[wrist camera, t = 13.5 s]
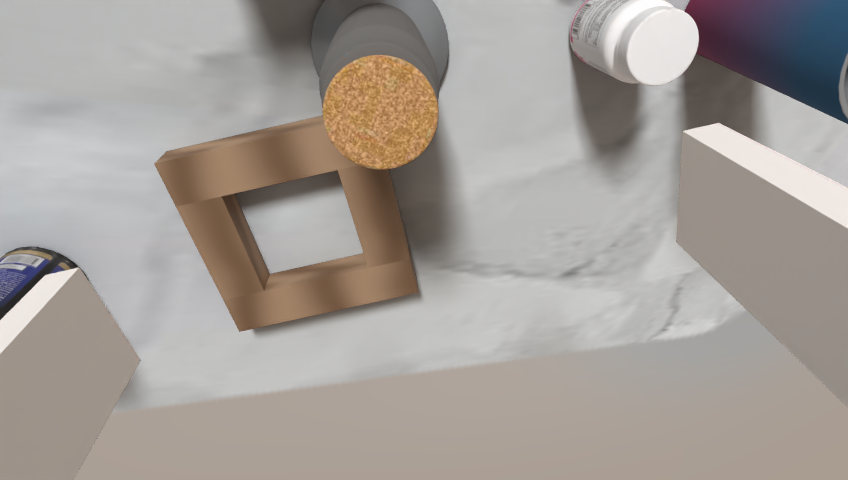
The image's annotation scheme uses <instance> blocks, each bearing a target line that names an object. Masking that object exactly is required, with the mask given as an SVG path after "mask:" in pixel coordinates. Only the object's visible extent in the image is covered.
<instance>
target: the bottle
mask: <svg viewBox="0 0 848 480" xmlns="http://www.w3.org/2000/svg"><path fill="white" fill-rule="evenodd" d="M319 84H320V96H321V99H322V108H323V121H324V126H325V129H326V132H327V134H328V136H329V138H330V140H331V142H332V143H333V145H334V146H335V147H336V149H337V150H338V151H339V152H340V153H341V154H342V155H344V156H345V157H346V158H347V159H349V160H350V161H352V162H354V163H356V164H358V165H360V166H363V167H367V168H371V169H383V170H385V169H392V168H397V167H400V166H403V165H405V164H407V163H409V162H411V161H413V160H414V159H415V158H417V157H418V156H419V155H420V154H421V153H422V152H423V151H424V150H425V149H426V148H427V146H428V145H429V144H430V142H431V140H432V138H433V136H434V134H435V131H436V128H437V124H438V97H439V76H438V72H437V68H436V65H435V62H434V59H433V57H432V55H431V53H430V51H429V49H428V47H427V45H426V43H425V41H424V39H423V37H422V35H421V33H420V31H419V30H418V28H417V26H416V25H415V23H414V22H413V21H412V19H411V18H410V17H409V16H408V15H407V14H405V13H404V12H403V11H401V10H400V9H398V8H396V7H394V6H391V5H388V4H384V3H370V4H366V5H363V6H360V7H358V8H357V9H355V10H353V11H352V12H351V13H349V14H348V15H347V16H346V17H345V18H344V20H343V21H342V22H341V24H340V26H339V27H338V29H337V31H336V33H335V35H334V37H333V40H332V42H331V44H330V46H329V49H328V51H327V53H326V56H325V58H324V61H323V64H322V68H321V71H320V80H319Z"/></svg>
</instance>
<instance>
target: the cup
mask: <svg viewBox="0 0 848 480" xmlns="http://www.w3.org/2000/svg"><path fill="white" fill-rule="evenodd" d="M685 12H686V13H687V14H689V15H690V16H691V17H692V18H693V20H694V21H695V23H696V25H697V28H698V33H699V43H698V48H697V52H696V53H697V54H699V55H701V56H703V57H705V58H708V59H710V60H712V61H714V62H716V63H718V64H720V65H723V66H725V67H727V68H729V69H731V70H733V71H735V72H738V73H740V74H742V75H744V76H746V77H748V78H750V79H753V80H755V81H757V82H759V83H761V84H763V85H765V86H768V87H770V88H772V89H774V90H776V91H778V92H780V93H783V94H785V95H787V96H789V97H791V98H793V99H795V100H798V101H800V102H802V103H804V104H806V105H808V106H810V107H813V108H815V109H817V110H819V111H821V112H823V113H825V114H828V115H830V116H832V117H834V118H836V119H838V120H840V121H843V122H845V123H847V124H848V0H690V2H689V3H688V5H687V7H686V9H685Z"/></svg>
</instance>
